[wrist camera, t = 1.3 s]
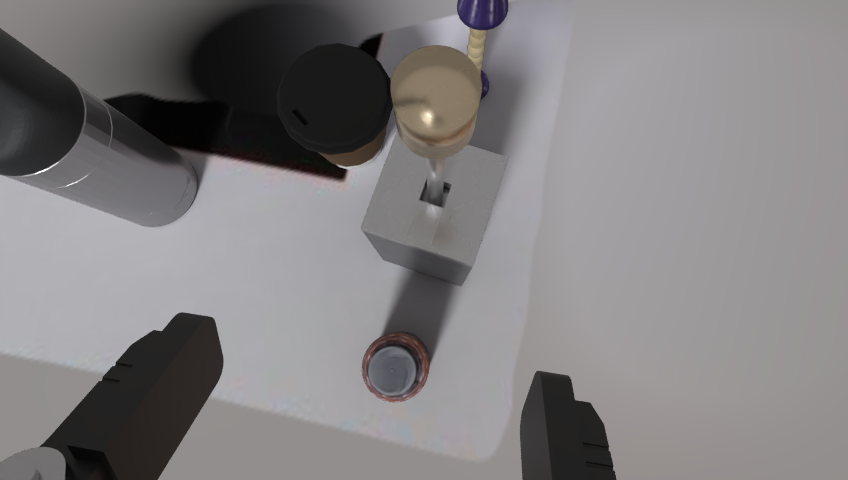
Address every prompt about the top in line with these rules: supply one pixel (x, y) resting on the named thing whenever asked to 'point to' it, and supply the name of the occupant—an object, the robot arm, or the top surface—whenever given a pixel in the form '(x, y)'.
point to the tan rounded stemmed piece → (436, 109)
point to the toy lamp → (481, 28)
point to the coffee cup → (337, 104)
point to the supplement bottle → (396, 366)
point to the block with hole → (433, 211)
